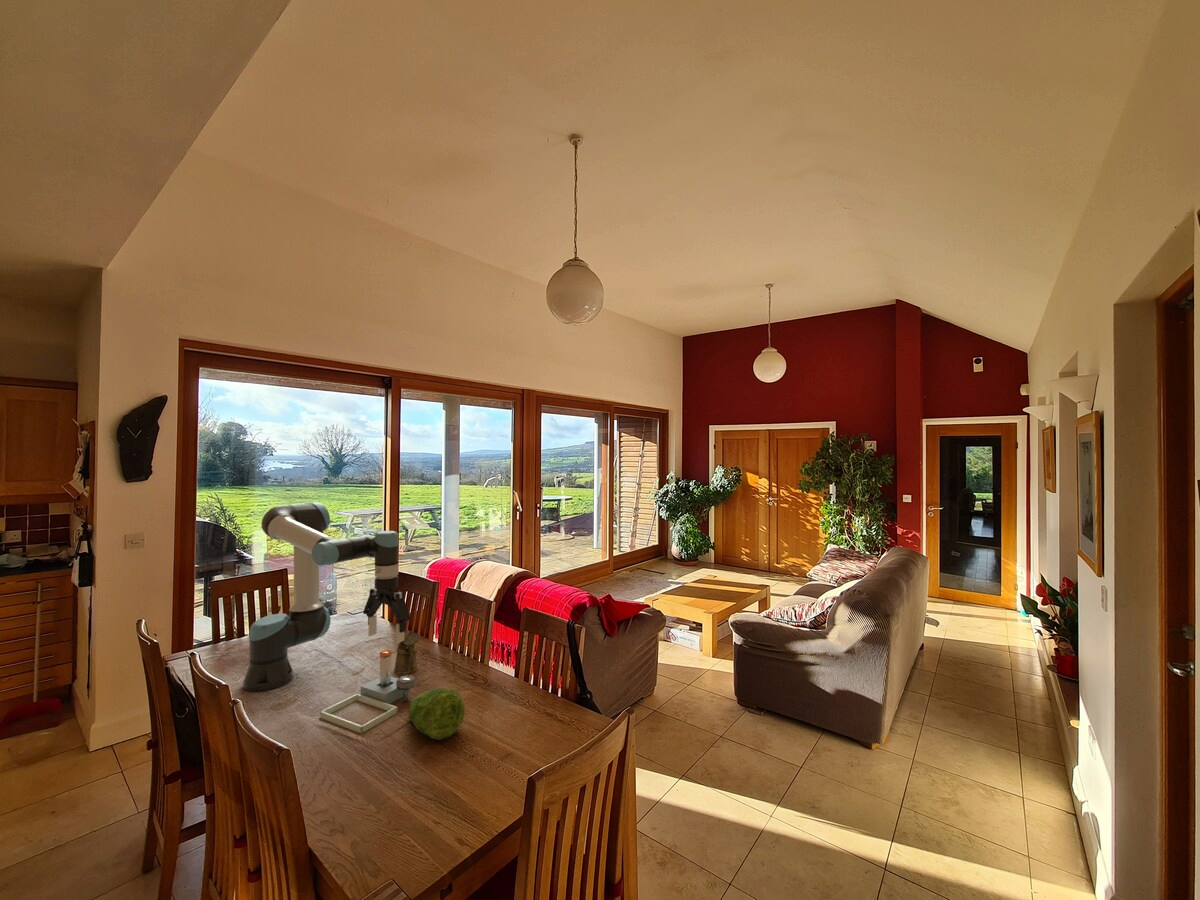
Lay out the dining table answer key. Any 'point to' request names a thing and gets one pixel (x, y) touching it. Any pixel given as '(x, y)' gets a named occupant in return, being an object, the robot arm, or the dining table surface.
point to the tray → (353, 726)
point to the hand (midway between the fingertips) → (386, 638)
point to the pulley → (406, 685)
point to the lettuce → (437, 712)
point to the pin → (385, 668)
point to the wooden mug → (407, 655)
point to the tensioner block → (382, 691)
